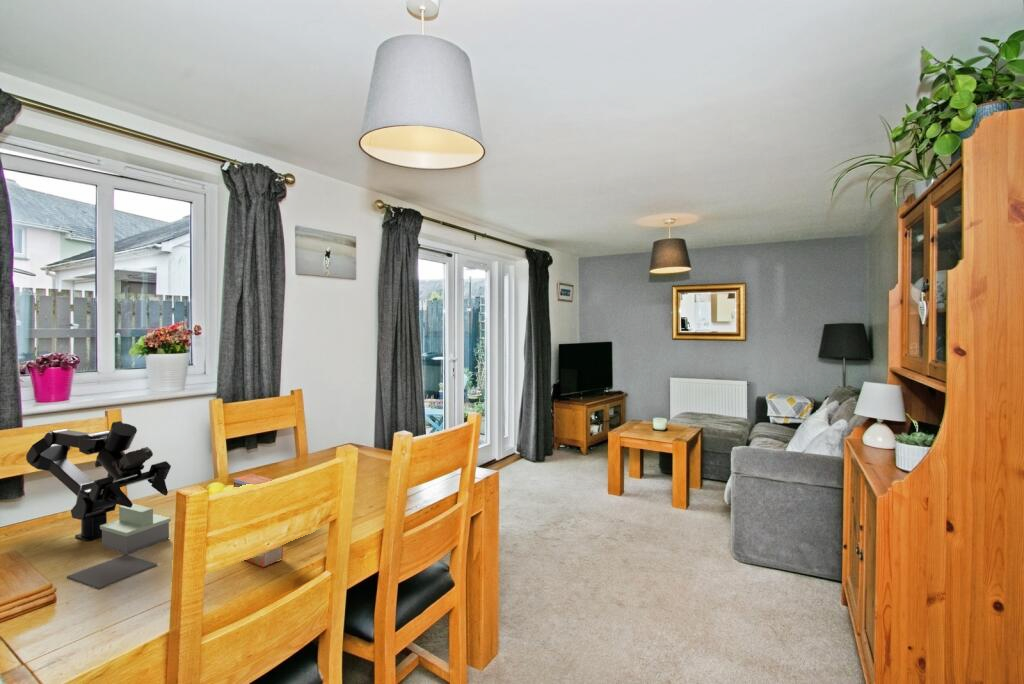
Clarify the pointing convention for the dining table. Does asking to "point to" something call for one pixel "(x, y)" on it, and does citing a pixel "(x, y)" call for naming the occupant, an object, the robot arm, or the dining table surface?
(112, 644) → the dining table surface
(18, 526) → the dining table surface
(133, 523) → the lid
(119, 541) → the storage box
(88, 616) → the dining table surface
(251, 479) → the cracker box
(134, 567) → the mat
